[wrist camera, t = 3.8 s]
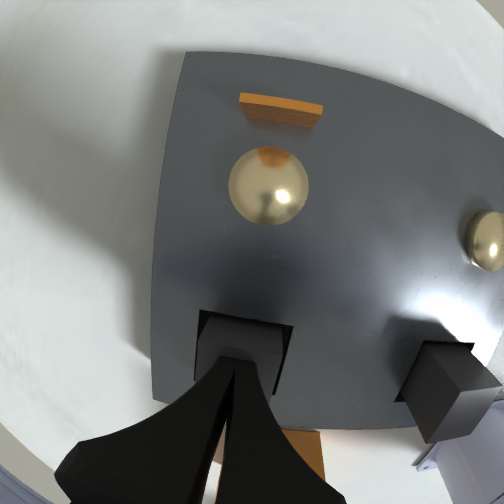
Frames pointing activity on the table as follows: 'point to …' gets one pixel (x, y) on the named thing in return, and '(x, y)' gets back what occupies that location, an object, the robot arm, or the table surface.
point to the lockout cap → (305, 449)
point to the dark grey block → (242, 346)
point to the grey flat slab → (324, 232)
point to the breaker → (448, 391)
